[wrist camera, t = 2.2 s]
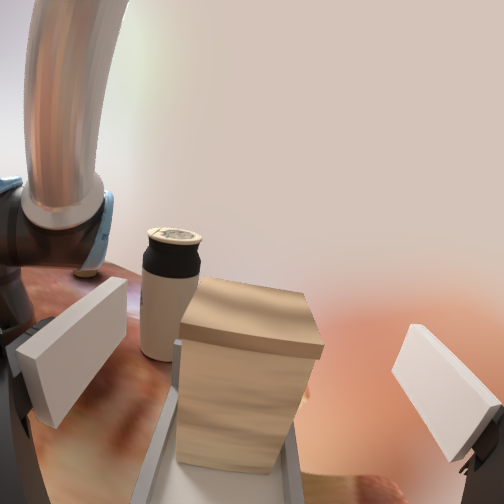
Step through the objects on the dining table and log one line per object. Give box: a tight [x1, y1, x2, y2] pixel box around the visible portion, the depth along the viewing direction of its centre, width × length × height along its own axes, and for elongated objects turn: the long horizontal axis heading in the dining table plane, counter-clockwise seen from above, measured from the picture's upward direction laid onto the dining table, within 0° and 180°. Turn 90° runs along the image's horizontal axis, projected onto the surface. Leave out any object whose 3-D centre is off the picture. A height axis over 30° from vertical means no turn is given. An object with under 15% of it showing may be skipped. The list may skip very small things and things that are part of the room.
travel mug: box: [139, 228, 202, 362], centre depth 41 cm, size 8×8×18 cm
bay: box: [129, 339, 305, 504], centre depth 19 cm, size 26×14×9 cm, turn 179°
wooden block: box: [176, 276, 324, 475], centre depth 25 cm, size 9×9×16 cm
